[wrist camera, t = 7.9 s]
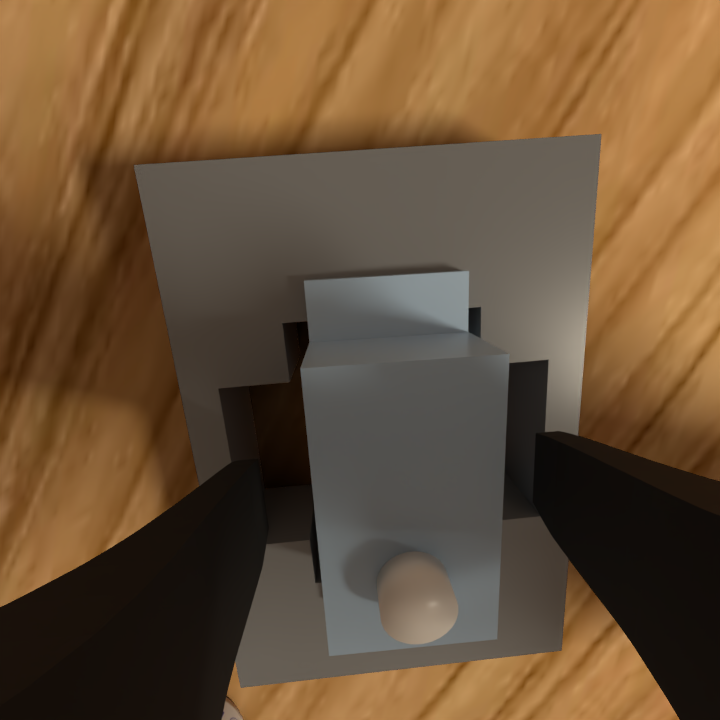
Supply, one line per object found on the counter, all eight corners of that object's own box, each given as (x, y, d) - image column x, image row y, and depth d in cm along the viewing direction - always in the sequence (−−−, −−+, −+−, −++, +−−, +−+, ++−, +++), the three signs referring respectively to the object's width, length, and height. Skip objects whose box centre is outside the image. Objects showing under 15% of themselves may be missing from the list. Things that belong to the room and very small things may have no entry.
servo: (433, 268, 13) (535, 275, 6) (435, 525, 15) (508, 724, 9) (313, 275, 13) (286, 290, 6) (335, 533, 15) (333, 743, 9)
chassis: (537, 164, 12) (601, 133, 9) (521, 580, 16) (561, 650, 13) (184, 189, 12) (133, 165, 9) (258, 608, 16) (240, 687, 13)
